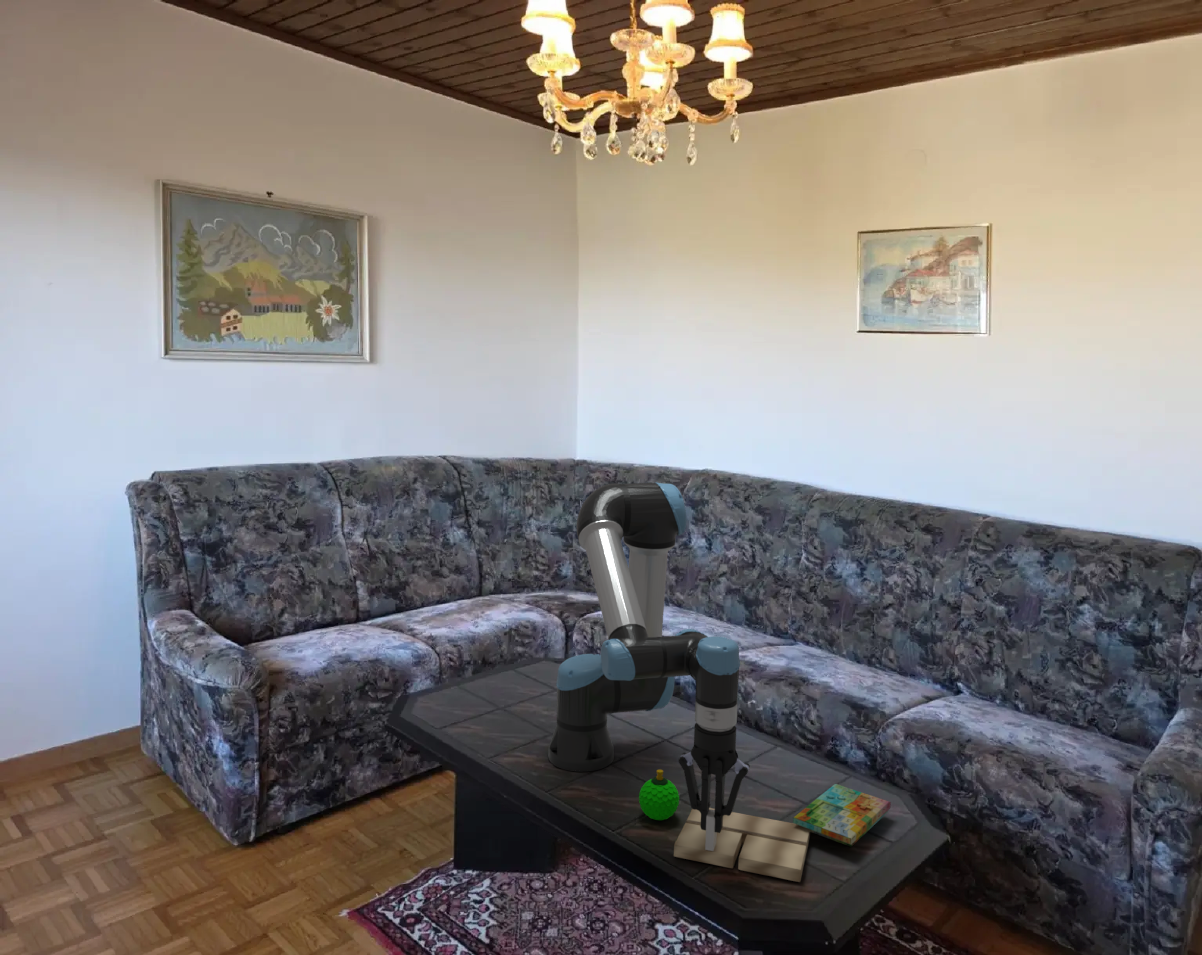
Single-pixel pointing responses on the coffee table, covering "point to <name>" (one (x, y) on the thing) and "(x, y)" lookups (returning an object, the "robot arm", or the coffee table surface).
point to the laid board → (759, 827)
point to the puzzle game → (842, 814)
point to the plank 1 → (693, 846)
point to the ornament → (659, 797)
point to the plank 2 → (772, 858)
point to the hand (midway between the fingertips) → (710, 846)
